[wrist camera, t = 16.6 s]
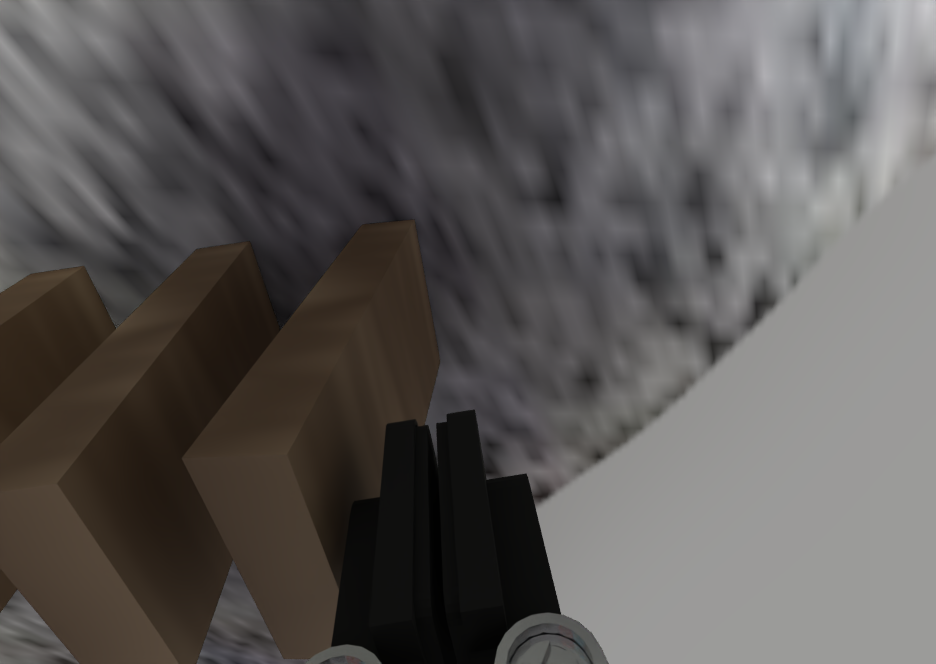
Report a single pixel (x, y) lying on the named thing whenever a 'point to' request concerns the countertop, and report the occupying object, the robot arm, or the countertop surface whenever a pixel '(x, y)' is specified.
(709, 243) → the countertop surface
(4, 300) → the walnut domino
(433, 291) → the countertop surface
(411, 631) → the robot arm
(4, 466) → the walnut domino
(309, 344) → the walnut domino
